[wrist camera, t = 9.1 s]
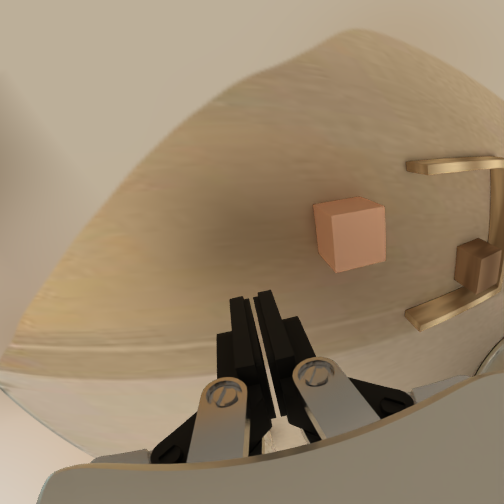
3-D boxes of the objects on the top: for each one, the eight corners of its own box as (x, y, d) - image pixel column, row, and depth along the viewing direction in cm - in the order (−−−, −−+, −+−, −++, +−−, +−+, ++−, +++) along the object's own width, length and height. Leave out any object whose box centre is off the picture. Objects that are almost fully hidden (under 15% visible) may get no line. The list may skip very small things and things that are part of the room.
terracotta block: (359, 196, 21) (384, 206, 17) (362, 243, 22) (385, 260, 19) (312, 204, 21) (331, 216, 17) (318, 252, 22) (335, 273, 18)
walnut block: (478, 237, 24) (501, 249, 20) (474, 269, 25) (496, 283, 21) (456, 246, 24) (481, 259, 20) (453, 279, 25) (476, 294, 21)
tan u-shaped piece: (493, 156, 20) (512, 159, 18) (485, 281, 26) (500, 291, 23) (405, 161, 20) (427, 164, 17) (405, 316, 26) (419, 332, 23)
